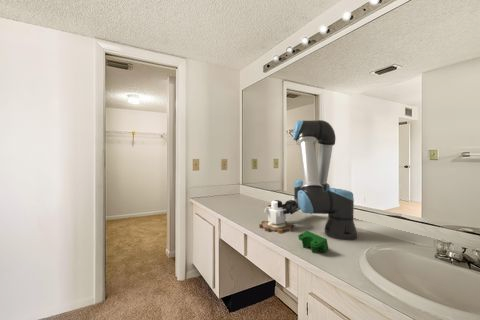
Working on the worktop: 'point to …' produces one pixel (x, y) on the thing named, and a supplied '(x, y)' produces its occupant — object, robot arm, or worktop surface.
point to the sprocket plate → (276, 227)
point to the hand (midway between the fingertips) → (271, 211)
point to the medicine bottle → (276, 213)
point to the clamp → (313, 241)
